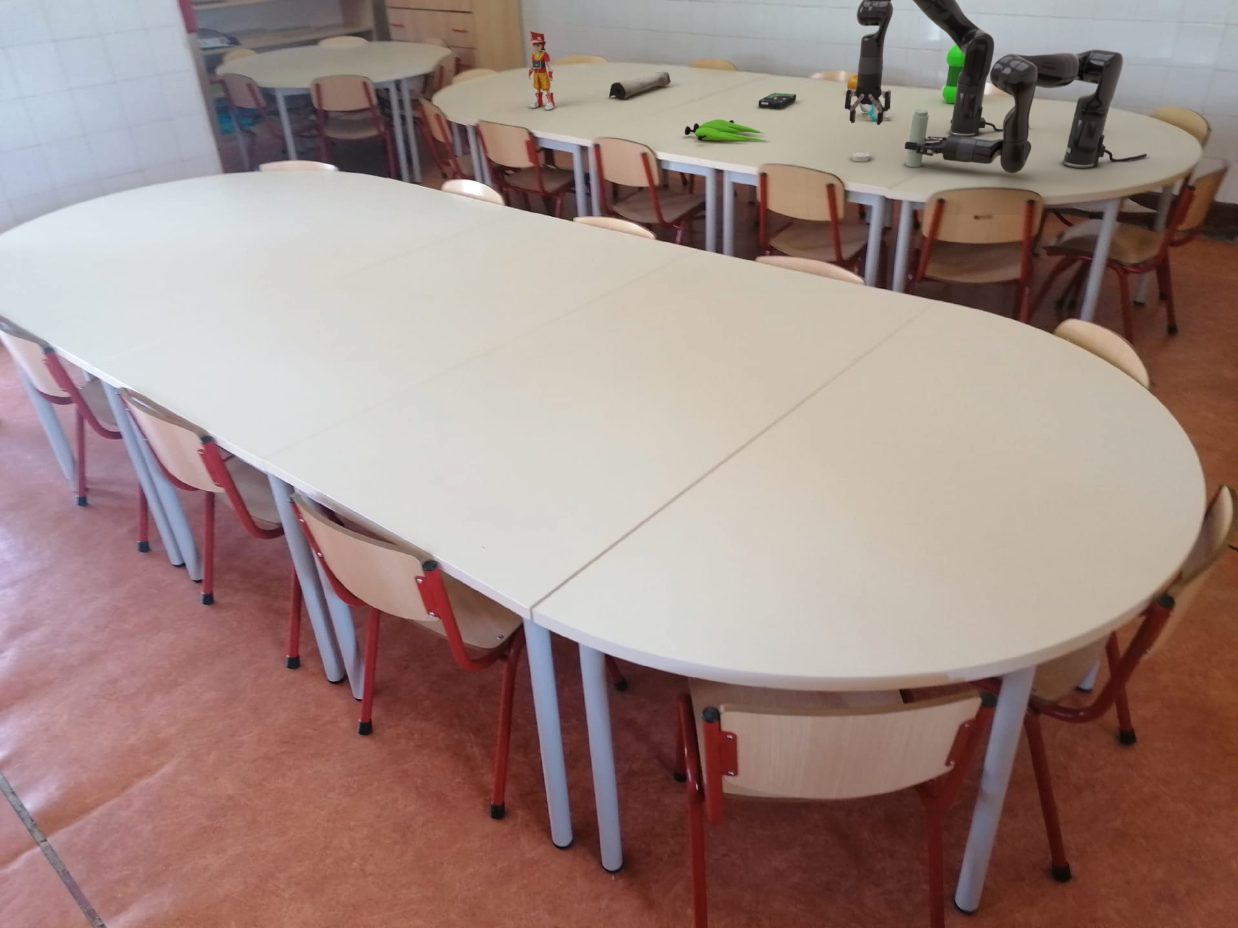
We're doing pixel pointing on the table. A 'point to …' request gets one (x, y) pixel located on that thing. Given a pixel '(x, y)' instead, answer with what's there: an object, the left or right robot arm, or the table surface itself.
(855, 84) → the fruit
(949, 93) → the green dumbbell-shaped cylinder
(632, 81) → the rolled mat
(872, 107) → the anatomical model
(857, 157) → the lid
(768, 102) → the disk drive
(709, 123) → the toy
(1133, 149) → the table surface
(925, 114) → the jar
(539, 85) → the toy
